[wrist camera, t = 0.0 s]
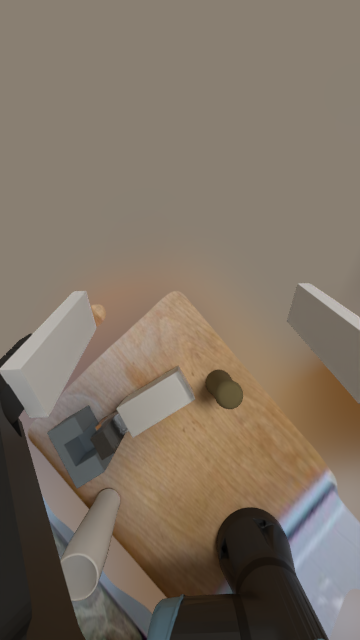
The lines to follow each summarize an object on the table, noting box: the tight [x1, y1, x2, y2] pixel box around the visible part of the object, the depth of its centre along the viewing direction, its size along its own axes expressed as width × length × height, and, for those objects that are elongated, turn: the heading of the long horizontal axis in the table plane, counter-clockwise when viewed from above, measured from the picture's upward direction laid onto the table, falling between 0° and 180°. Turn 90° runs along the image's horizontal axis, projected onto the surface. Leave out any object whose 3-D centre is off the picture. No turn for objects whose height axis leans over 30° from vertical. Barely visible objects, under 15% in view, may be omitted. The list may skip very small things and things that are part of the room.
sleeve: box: [116, 366, 195, 437], centre depth 45 cm, size 6×14×7 cm, turn 121°
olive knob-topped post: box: [206, 370, 243, 409], centre depth 43 cm, size 6×6×11 cm
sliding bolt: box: [90, 411, 129, 460], centre depth 41 cm, size 4×18×11 cm, turn 121°
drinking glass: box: [60, 489, 120, 601], centre depth 39 cm, size 7×7×15 cm
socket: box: [47, 405, 114, 488], centre depth 44 cm, size 12×6×7 cm, turn 31°
